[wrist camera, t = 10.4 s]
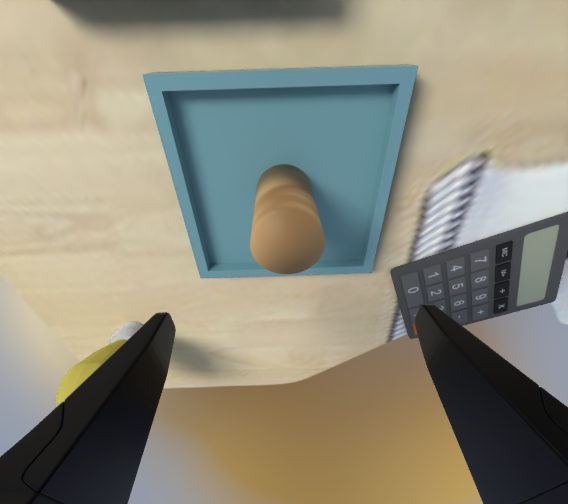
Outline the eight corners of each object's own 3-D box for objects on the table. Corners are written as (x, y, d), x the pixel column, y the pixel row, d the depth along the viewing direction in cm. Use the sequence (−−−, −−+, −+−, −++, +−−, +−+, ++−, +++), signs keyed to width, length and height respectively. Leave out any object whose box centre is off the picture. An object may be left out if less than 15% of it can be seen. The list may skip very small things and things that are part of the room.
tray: (407, 64, 16) (418, 66, 15) (366, 262, 25) (371, 272, 24) (152, 72, 16) (142, 74, 15) (204, 267, 25) (200, 278, 24)
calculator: (391, 273, 25) (578, 213, 22) (388, 266, 26) (568, 207, 22) (410, 340, 32) (556, 302, 28) (407, 334, 32) (549, 296, 29)
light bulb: (106, 300, 27) (36, 404, 19) (172, 320, 29) (134, 421, 21) (97, 336, 31) (35, 436, 23) (157, 351, 33) (119, 449, 25)
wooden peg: (311, 163, 19) (328, 211, 13) (309, 214, 21) (322, 273, 16) (254, 165, 19) (246, 214, 13) (258, 215, 21) (253, 275, 16)
